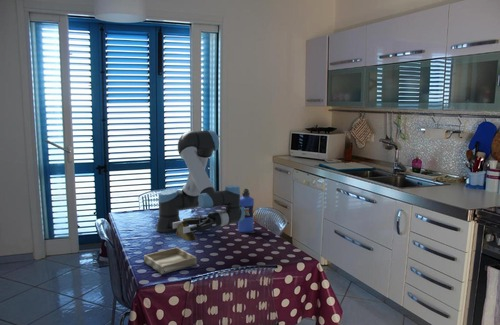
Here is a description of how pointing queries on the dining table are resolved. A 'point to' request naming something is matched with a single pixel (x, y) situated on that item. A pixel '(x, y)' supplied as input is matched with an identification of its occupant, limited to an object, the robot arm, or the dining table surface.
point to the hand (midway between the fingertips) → (178, 228)
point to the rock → (185, 236)
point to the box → (170, 260)
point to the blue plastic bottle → (246, 212)
